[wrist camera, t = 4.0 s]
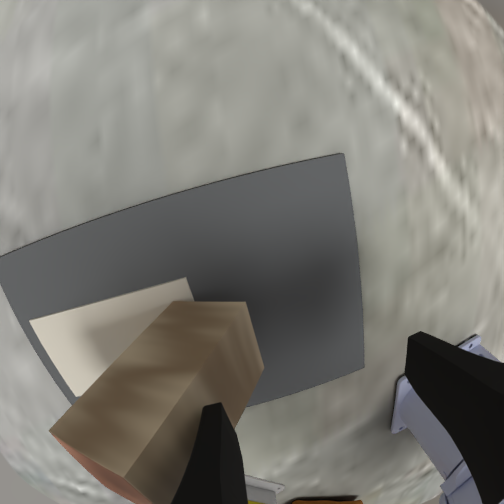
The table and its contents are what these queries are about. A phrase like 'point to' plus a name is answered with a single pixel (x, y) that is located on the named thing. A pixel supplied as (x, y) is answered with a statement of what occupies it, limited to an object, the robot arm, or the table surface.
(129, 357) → the wooden block
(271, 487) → the emergency button
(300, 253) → the rubber mat
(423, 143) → the table surface
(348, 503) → the coffee package
